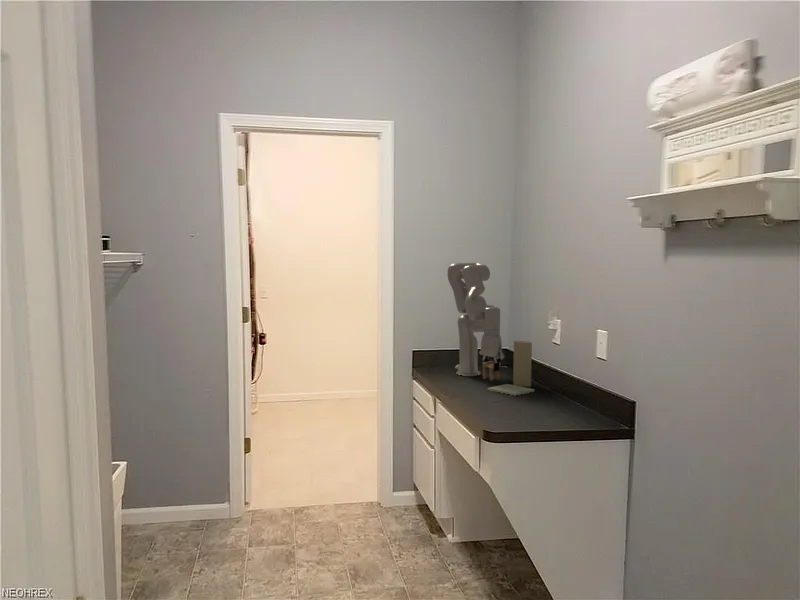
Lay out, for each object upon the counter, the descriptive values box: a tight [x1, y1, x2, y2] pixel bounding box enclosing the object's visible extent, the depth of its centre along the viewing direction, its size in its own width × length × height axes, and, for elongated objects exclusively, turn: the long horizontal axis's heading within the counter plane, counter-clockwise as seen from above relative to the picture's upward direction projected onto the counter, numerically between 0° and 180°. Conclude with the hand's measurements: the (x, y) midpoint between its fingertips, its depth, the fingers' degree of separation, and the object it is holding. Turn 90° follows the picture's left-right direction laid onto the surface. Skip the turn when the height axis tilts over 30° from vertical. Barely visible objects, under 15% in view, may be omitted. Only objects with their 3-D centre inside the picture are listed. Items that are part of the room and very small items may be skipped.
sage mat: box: [487, 383, 535, 397], centre depth 267 cm, size 16×14×1 cm
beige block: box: [512, 340, 533, 388], centre depth 279 cm, size 8×7×21 cm
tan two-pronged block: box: [482, 360, 501, 381], centre depth 282 cm, size 6×6×8 cm
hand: (491, 369), depth 281 cm, fingers closed on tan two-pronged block, 6 cm apart
